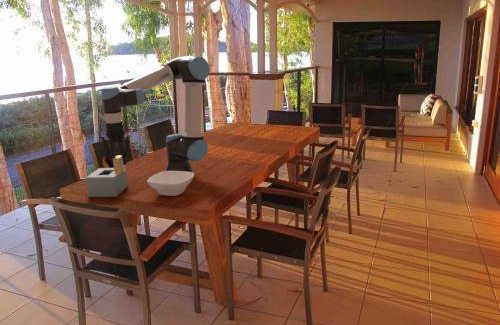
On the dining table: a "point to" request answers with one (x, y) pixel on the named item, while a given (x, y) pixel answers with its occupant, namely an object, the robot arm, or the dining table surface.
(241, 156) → the dining table surface
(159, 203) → the dining table surface
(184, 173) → the bowl
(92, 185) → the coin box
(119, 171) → the token
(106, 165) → the mug
